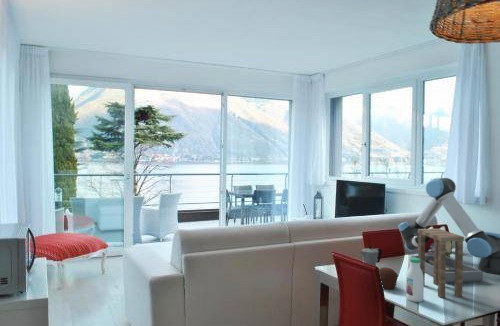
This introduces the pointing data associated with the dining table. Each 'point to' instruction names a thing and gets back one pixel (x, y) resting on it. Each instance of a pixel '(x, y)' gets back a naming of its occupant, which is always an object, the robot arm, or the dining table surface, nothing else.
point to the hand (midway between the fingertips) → (438, 228)
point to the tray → (468, 272)
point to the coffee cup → (448, 246)
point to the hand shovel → (446, 267)
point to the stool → (442, 258)
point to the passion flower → (433, 250)
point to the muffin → (388, 278)
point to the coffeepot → (371, 255)
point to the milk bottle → (414, 281)
